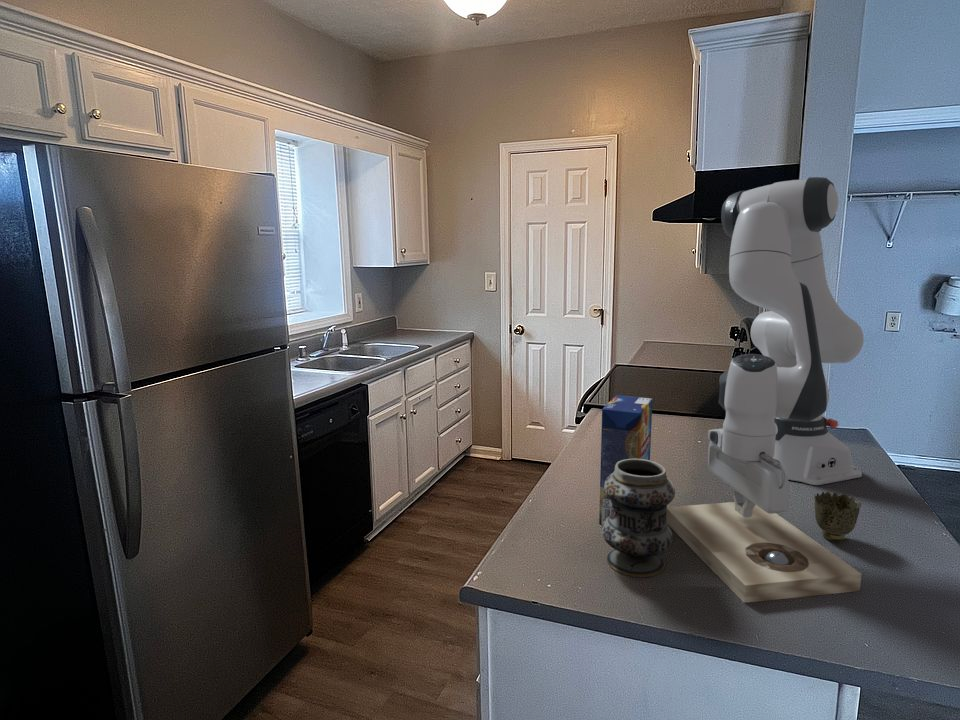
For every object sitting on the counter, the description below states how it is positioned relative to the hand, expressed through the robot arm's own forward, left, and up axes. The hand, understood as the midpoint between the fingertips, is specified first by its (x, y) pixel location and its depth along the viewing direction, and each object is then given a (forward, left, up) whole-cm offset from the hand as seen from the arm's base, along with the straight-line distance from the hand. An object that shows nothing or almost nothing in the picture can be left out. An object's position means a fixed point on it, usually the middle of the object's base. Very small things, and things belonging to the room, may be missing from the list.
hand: (743, 514), depth 110 cm
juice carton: (+18, -14, -6) cm, 23 cm away
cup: (-17, +2, -6) cm, 18 cm away
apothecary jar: (+23, +4, -6) cm, 24 cm away
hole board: (+1, +4, -5) cm, 7 cm away
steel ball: (+1, +12, -3) cm, 12 cm away
